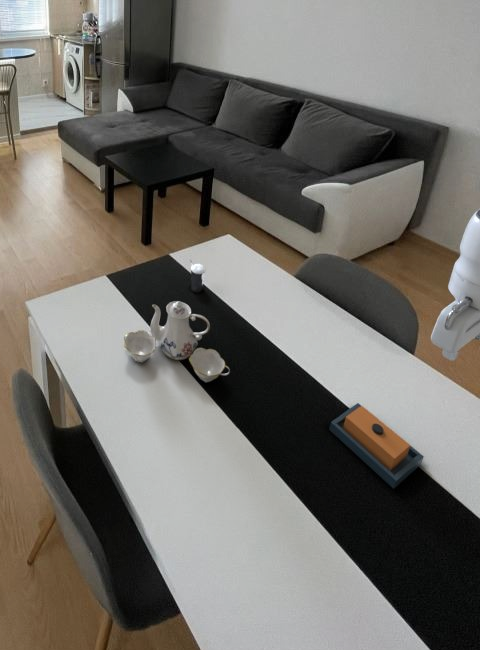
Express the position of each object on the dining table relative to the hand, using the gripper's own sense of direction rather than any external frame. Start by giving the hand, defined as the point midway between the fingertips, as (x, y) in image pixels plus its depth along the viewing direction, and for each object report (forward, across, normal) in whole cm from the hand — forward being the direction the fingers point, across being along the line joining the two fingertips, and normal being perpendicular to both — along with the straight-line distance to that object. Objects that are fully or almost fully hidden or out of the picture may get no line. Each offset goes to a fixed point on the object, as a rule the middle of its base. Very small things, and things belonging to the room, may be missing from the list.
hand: (462, 346), depth 82 cm
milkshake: (+26, -10, +63) cm, 69 cm away
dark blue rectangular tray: (+27, -11, +5) cm, 30 cm away
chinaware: (+26, -33, +45) cm, 62 cm away
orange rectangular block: (+26, -11, +6) cm, 29 cm away
